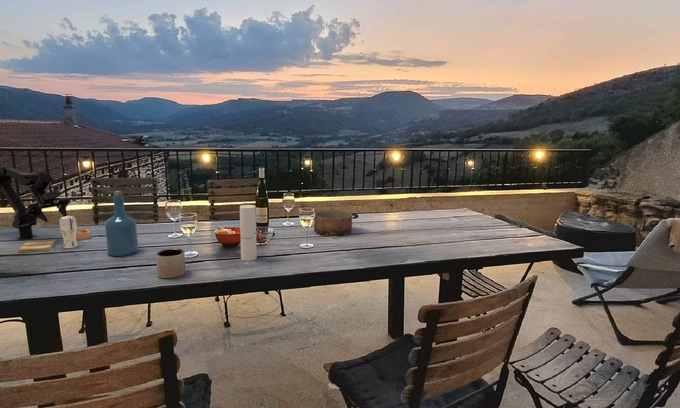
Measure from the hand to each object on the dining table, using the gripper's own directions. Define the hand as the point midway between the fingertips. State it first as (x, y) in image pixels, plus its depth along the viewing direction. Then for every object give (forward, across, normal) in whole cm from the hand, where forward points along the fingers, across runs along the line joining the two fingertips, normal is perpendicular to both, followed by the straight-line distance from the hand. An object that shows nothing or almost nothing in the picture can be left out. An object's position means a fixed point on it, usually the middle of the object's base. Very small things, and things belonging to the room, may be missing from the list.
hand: (57, 219), depth 196 cm
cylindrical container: (+74, +25, -64) cm, 101 cm away
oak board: (+7, -8, +12) cm, 16 cm away
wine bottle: (+36, +5, -20) cm, 41 cm away
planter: (+63, -6, -51) cm, 81 cm away
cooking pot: (+85, +86, -76) cm, 143 cm away
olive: (+6, +11, +9) cm, 16 cm away
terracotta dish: (+8, +11, +10) cm, 17 cm away
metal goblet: (+15, 0, +3) cm, 15 cm away
